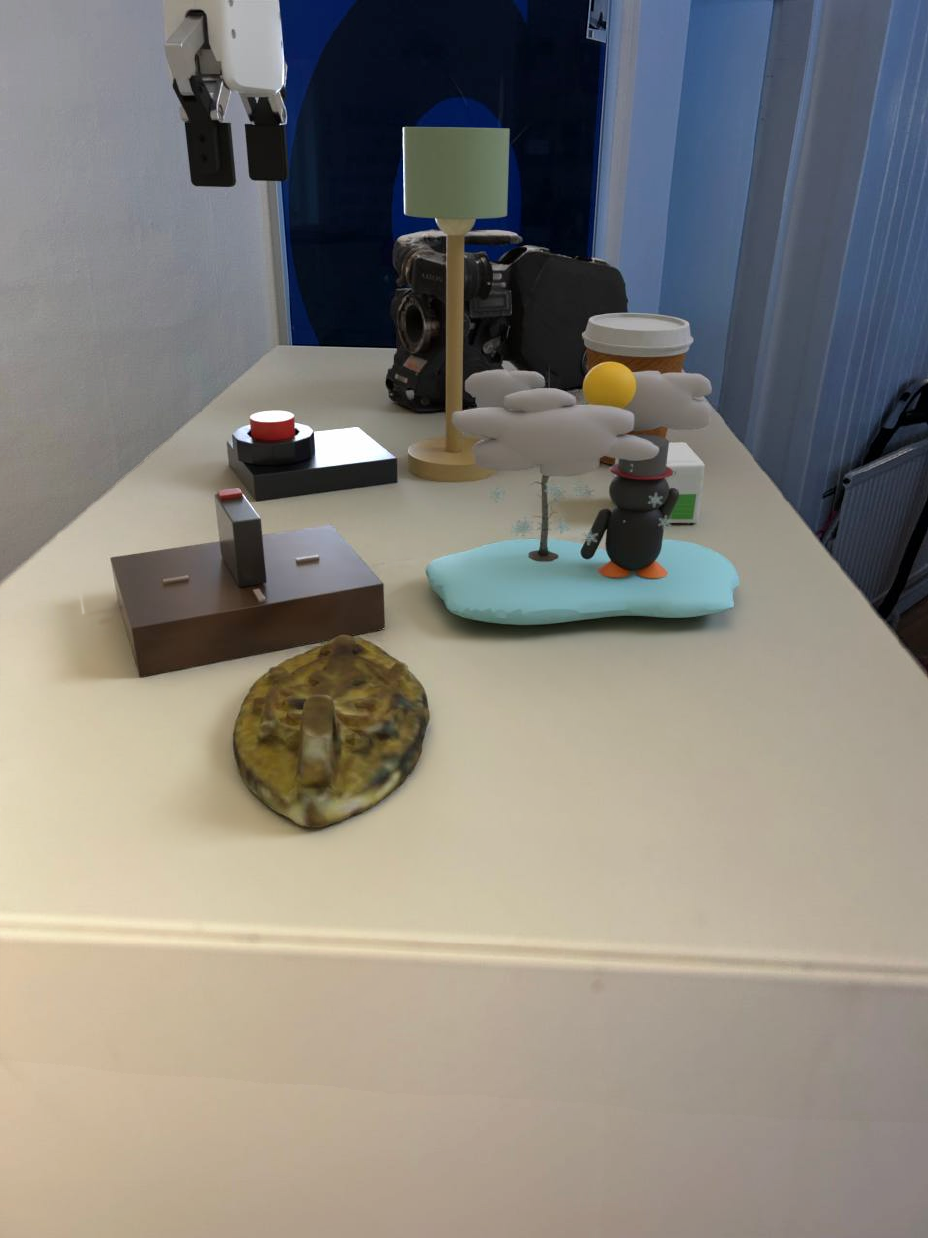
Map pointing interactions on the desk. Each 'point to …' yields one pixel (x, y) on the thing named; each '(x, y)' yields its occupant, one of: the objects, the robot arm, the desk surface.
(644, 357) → the disposable coffee cup
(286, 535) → the dimmer panel
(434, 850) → the desk surface
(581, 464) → the penguin figurine
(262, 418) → the lamp switch
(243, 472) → the switch block
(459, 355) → the desk lamp
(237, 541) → the dark grey block
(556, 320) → the movie camera
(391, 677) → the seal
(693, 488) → the small box
